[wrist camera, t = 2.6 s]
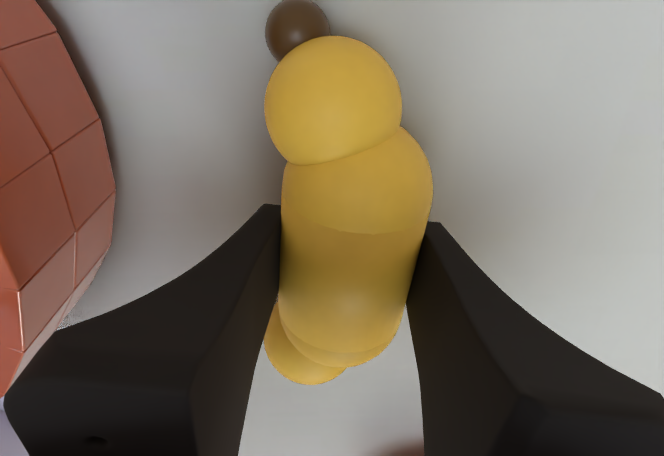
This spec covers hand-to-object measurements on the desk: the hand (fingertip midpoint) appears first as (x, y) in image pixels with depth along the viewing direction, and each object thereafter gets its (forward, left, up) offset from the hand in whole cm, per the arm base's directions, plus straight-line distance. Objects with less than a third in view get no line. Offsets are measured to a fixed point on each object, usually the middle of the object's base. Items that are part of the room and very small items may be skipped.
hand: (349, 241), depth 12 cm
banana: (0, 0, -1) cm, 1 cm away
